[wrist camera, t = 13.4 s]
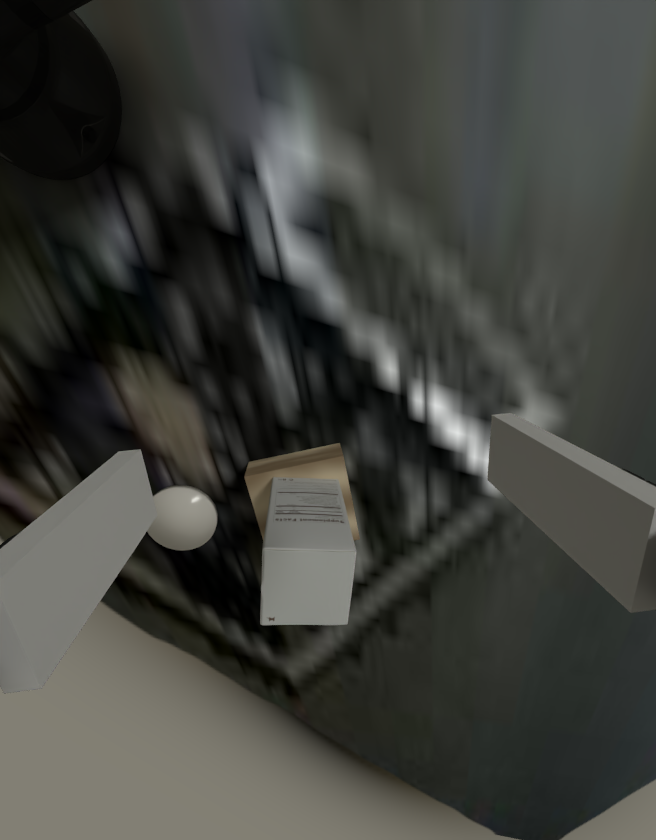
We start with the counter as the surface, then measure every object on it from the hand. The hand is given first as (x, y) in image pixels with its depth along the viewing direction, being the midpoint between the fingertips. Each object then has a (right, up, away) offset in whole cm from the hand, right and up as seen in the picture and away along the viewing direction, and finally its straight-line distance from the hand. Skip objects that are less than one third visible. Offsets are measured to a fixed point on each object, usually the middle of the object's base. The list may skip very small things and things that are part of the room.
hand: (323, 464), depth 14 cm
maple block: (-3, -9, +40) cm, 41 cm away
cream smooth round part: (-21, -12, +39) cm, 46 cm away
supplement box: (-3, -10, +35) cm, 36 cm away
